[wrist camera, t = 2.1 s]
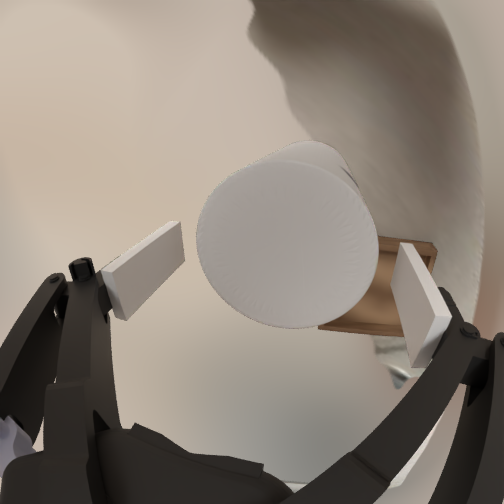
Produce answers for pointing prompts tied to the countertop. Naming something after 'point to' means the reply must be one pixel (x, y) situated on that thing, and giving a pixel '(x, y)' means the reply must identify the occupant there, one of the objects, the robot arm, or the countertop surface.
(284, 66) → the countertop surface
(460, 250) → the countertop surface
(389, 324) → the stand
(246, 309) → the container
